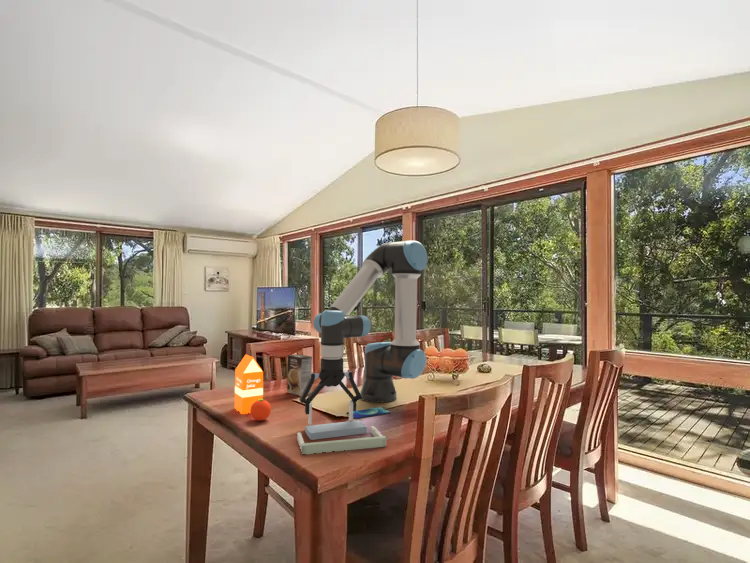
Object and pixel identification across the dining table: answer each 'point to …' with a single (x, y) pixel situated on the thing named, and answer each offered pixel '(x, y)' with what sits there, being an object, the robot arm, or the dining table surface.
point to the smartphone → (369, 412)
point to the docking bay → (343, 443)
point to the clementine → (260, 410)
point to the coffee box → (298, 373)
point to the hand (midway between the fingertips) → (330, 422)
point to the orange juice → (248, 384)
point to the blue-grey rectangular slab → (335, 429)
